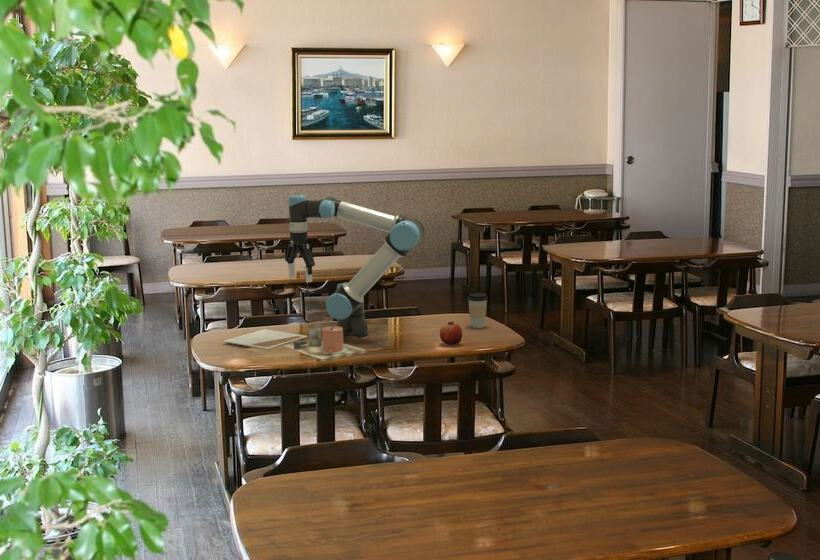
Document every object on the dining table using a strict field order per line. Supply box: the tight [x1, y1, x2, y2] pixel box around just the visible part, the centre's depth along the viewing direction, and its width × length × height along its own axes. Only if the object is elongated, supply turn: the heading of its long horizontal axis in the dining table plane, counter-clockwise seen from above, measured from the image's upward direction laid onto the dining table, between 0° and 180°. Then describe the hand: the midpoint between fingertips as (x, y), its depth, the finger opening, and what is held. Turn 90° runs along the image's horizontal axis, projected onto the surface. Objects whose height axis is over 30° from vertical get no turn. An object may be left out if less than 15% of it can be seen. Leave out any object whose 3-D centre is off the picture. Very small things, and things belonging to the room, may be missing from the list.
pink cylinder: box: [321, 325, 344, 354], centre depth 405 cm, size 14×8×9 cm, turn 174°
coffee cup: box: [467, 292, 489, 329], centre depth 449 cm, size 9×9×15 cm
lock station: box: [282, 327, 367, 363], centre depth 411 cm, size 22×30×8 cm
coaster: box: [321, 347, 347, 355], centre depth 405 cm, size 11×11×1 cm
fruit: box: [439, 321, 463, 346], centre depth 417 cm, size 11×10×10 cm
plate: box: [223, 328, 309, 350], centre depth 429 cm, size 26×26×2 cm
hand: (300, 280), depth 426 cm, fingers open, 13 cm apart
